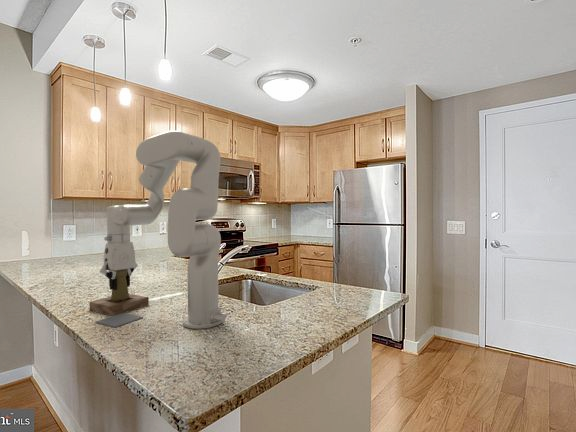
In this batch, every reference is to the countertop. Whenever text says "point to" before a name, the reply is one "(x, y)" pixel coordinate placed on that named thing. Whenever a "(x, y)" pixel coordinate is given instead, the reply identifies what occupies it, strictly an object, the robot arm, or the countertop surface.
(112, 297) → the cork
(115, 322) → the rubber mat
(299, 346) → the countertop surface
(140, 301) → the socket block
